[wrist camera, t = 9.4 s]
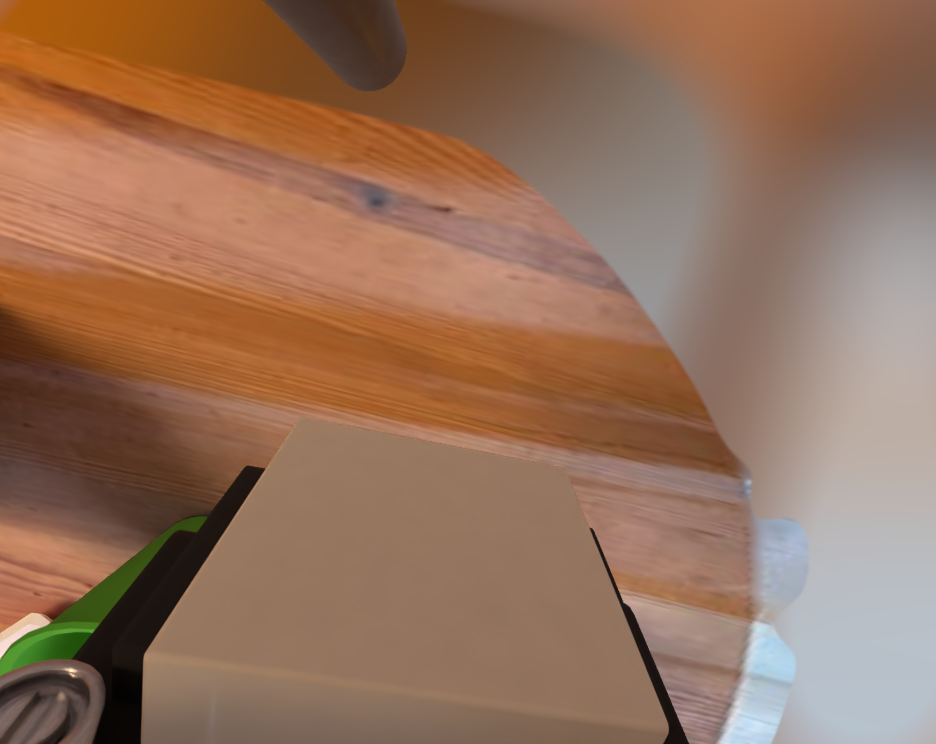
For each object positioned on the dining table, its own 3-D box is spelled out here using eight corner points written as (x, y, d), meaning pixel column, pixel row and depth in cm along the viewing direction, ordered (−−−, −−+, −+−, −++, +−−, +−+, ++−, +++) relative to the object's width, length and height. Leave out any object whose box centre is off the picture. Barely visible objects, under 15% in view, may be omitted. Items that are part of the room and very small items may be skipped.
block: (299, 414, 9) (138, 655, 4) (566, 465, 10) (674, 731, 5) (270, 625, 11) (130, 966, 6) (500, 660, 11) (534, 997, 7)
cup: (115, 498, 32) (-46, 641, 22) (256, 478, 32) (160, 614, 22) (162, 609, 35) (40, 782, 25) (292, 593, 35) (223, 760, 25)
